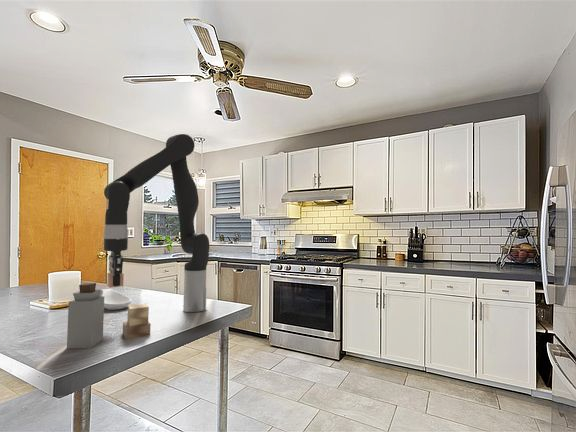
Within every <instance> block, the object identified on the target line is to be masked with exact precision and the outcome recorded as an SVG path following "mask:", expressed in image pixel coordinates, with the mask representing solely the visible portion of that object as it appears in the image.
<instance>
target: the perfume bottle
mask: <svg viewBox="0 0 576 432" xmlns="http://www.w3.org/2000/svg"><path fill="white" fill-rule="evenodd" d="M96 285H97V283H96V282H85V283H81V284H79V286H78V288H79V290H78V291H75V292H73V293H72V296H73V299H72V300H69V301H68V309H67V313H68V314H67V334H66V335H67V337H66V349H90V348H91V349H92V348H93V347H94V346H96V345H97V344H99V343H100V342H101V341H103V339H104V318H105V314H104V313H105V307H104V296H99V295H100V292H101V289H96Z"/></svg>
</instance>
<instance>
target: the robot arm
mask: <svg viewBox="0 0 576 432" xmlns="http://www.w3.org/2000/svg"><path fill="white" fill-rule="evenodd" d="M194 150H195V140H194V139H193V138H192V137H191V136H190V135H189V134H187V133H178V134H174V135H172V136H170V137H168V138H167V140H166V142H165V148H163V149H162V150H160V151H159V152H157V153H155V154H154V155H152V156H150V157H148V158H146V159H145V160H142V161H141V162H139V163H138V164H136V165H135V166H134V167H132V168H131V169H129V170H128V171H127V172H126V173H124V174H123V175H122V176H120V177H118V178H116V179H115V180H113V181H112V182H110V183H109V184H107V185H106V186H105V188H104V191H103V193H104V194H103V195H104V197H105V199H107V209H106V210H105V214H104V215H105V216H104V230H103V231H104V232H103V251H105V252H110V255H109V256H108V261H109V262H108V267H109V268H108V269H109V273H113V286H120V275H121V274H122V273H123V264H124V256H123V255H122V251H123V252H124V251H128V248H129V247H128V246H129V244H128V243H129V229H128V209H129V205H130V200H131V199H130V198H131V193H132V192H133V191H135V190H136V189H138V188H141V187H142V186H144V185H145V184H147V183H148V182H149V181H151V180H152V179H153V178H155V177H156V176H157V175H159V174H160V173H161V172H162V171H163V170H166V168H167V167H169V166H170V169H171V177H172V184H173V188H174V195H175V201H176V206H177V207H176V208H177V214H178V222H179V236H180V237H179V239H180V246H181V249H182V251H183V252H184V253H185V254H189V255H191V260H190V261H188V262H185V263H184V270H183V271H184V272H183V275H184V277H183V305H182V307H183V309H182V310H183V312H186V313H200V312H202V311H206V310H207V266H208V263H209V256H210V240H209V237H208V235H207V234H205V233H202V232H201V233H199V232H196V230H195V216H196V213H197V211H198V208H199V193H198V187H197V185H196V183H195V181H194V180H195V179H194V178H193V176H192V175H191V173H190V170H189V167H188V161H187V157H188V156H190V155H192V153H193V152H194Z"/></svg>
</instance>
